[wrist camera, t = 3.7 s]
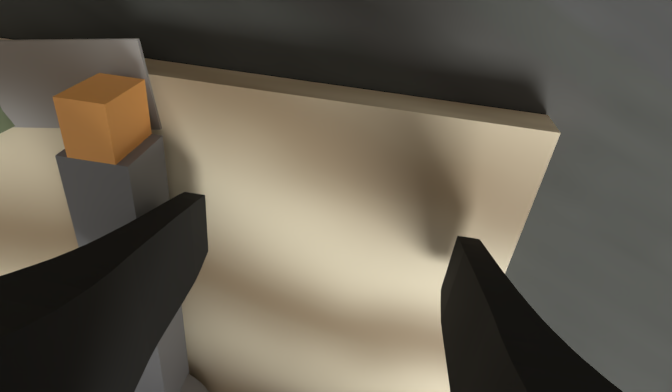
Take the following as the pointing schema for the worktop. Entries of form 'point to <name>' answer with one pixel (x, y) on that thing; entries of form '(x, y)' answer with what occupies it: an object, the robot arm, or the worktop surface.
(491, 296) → the robot arm
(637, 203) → the worktop surface
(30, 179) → the light wood flat board
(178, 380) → the grey bar
